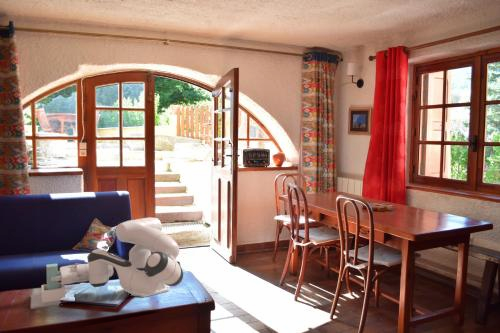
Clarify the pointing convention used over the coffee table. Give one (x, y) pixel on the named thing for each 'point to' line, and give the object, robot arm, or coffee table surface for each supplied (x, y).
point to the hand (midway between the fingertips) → (50, 277)
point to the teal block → (52, 271)
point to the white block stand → (48, 296)
